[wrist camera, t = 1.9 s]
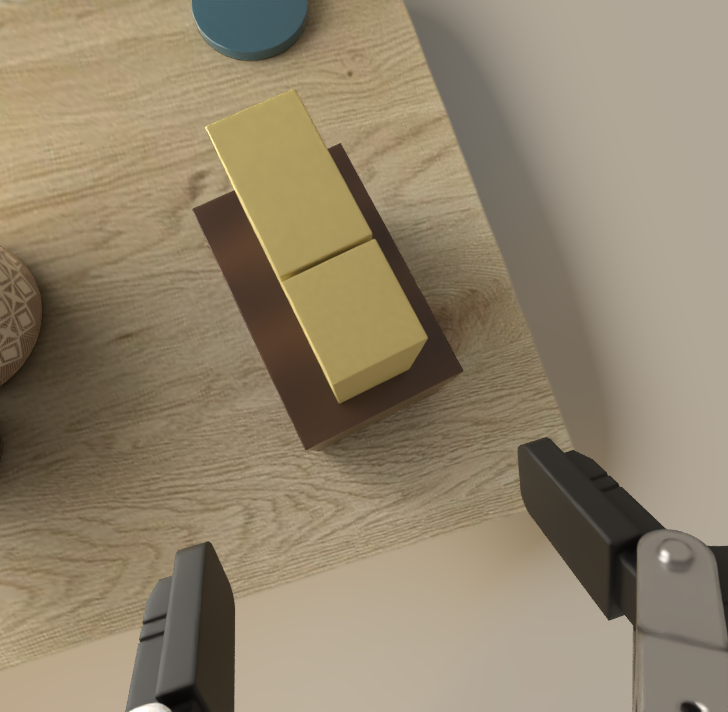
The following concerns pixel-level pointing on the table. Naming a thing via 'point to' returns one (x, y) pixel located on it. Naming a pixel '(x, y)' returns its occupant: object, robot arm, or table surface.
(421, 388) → the butter stand
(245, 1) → the plate
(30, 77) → the table surface
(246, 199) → the butter block
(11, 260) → the planter
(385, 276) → the butter slice
